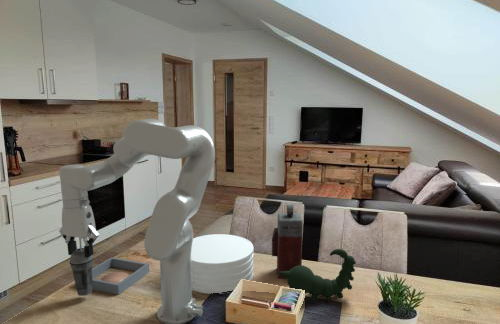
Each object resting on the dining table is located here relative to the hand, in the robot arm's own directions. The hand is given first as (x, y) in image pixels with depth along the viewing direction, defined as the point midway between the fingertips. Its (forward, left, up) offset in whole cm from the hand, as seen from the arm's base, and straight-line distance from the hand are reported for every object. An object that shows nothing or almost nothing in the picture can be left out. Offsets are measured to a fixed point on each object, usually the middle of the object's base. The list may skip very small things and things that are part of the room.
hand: (81, 254), depth 120 cm
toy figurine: (-74, -27, -16) cm, 81 cm away
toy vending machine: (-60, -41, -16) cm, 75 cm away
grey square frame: (0, -15, -16) cm, 22 cm away
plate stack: (-36, -31, -17) cm, 50 cm away
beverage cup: (0, 0, -14) cm, 14 cm away
